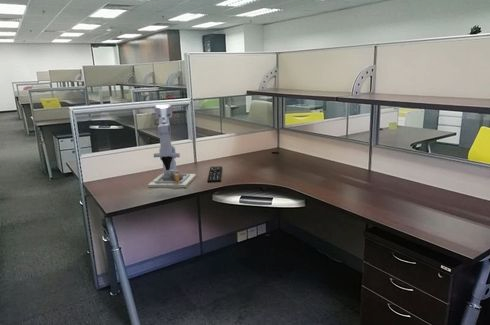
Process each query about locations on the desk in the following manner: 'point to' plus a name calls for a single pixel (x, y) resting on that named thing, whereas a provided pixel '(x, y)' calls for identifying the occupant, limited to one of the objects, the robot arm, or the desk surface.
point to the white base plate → (181, 183)
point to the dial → (172, 176)
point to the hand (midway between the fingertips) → (168, 169)
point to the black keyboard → (215, 174)
